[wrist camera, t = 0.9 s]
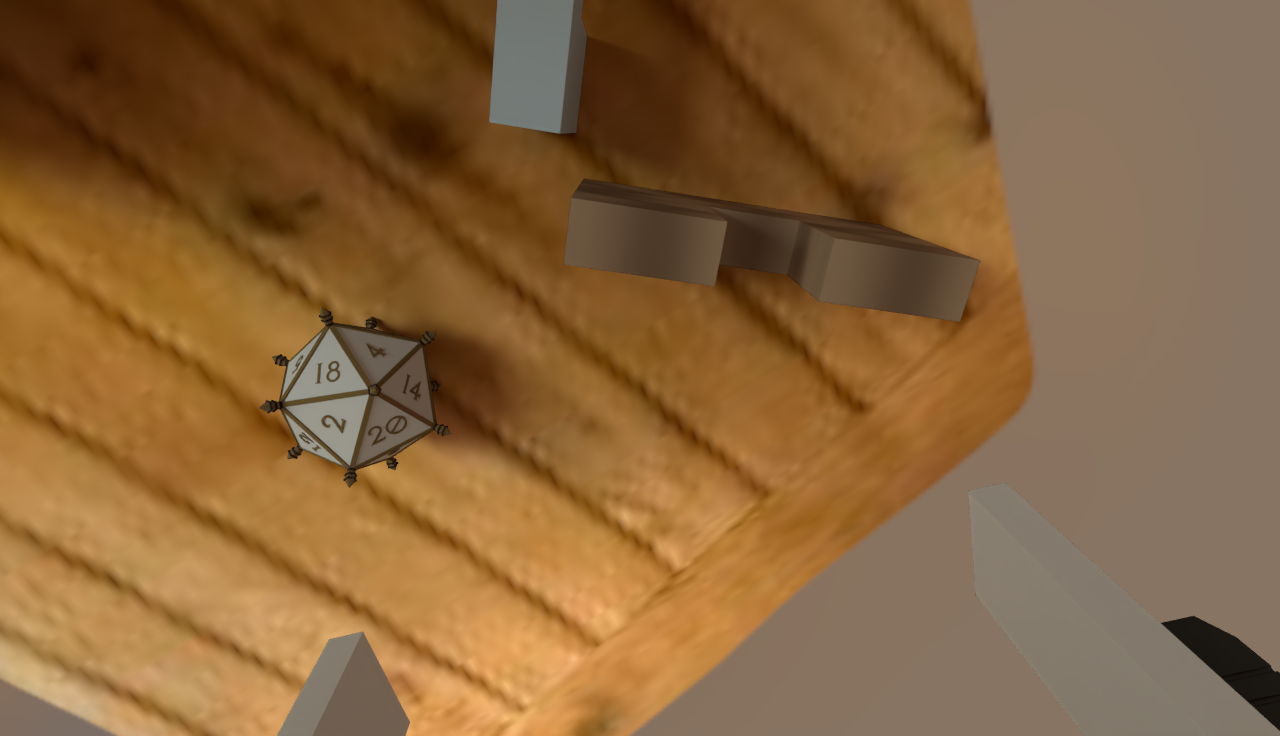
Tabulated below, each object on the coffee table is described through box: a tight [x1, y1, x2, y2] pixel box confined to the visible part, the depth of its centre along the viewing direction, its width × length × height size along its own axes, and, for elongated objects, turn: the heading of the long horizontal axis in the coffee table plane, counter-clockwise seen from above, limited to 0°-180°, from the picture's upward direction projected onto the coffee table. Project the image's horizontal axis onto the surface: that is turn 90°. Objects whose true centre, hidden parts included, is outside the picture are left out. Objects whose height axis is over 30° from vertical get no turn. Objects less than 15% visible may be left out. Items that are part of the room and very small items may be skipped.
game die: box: [259, 307, 452, 488], centre depth 33 cm, size 9×8×10 cm
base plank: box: [564, 179, 980, 322], centre depth 29 cm, size 16×2×10 cm, turn 81°
